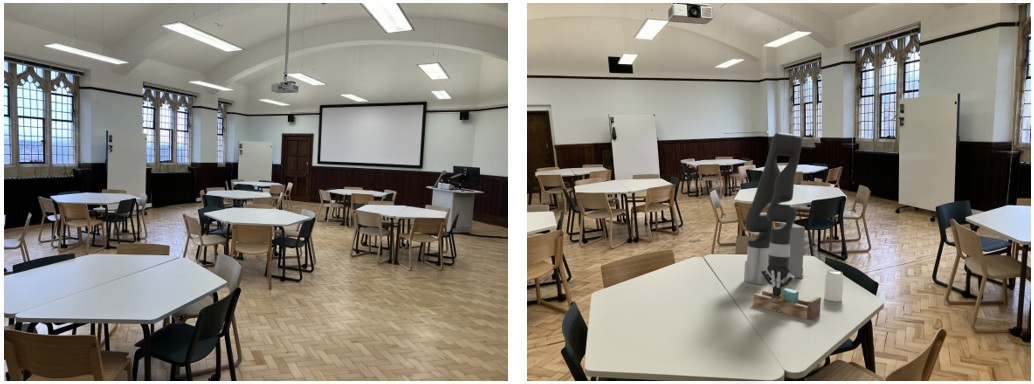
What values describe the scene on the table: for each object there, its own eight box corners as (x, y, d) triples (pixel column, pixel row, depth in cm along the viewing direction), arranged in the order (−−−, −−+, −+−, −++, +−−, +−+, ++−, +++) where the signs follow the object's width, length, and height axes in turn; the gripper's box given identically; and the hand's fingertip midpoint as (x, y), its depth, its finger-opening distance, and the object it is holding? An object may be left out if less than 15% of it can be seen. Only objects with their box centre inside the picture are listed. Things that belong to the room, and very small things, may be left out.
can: (844, 302, 216) (846, 274, 215) (827, 301, 217) (829, 273, 216) (838, 297, 222) (840, 270, 221) (821, 296, 224) (823, 269, 222)
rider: (780, 302, 207) (781, 290, 207) (785, 300, 210) (785, 288, 209) (793, 305, 204) (794, 293, 203) (798, 303, 206) (798, 291, 205)
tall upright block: (803, 278, 252) (806, 227, 249) (791, 278, 252) (794, 227, 249) (789, 270, 265) (792, 222, 262) (777, 270, 265) (780, 222, 262)
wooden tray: (753, 304, 214) (754, 288, 213) (763, 300, 219) (764, 284, 219) (809, 320, 197) (811, 302, 196) (819, 314, 202) (821, 297, 201)
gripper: (758, 252, 211) (756, 293, 213) (791, 258, 201) (789, 301, 203) (767, 249, 216) (764, 290, 218) (800, 255, 205) (797, 298, 207)
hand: (776, 295), depth 210 cm, fingers closed
